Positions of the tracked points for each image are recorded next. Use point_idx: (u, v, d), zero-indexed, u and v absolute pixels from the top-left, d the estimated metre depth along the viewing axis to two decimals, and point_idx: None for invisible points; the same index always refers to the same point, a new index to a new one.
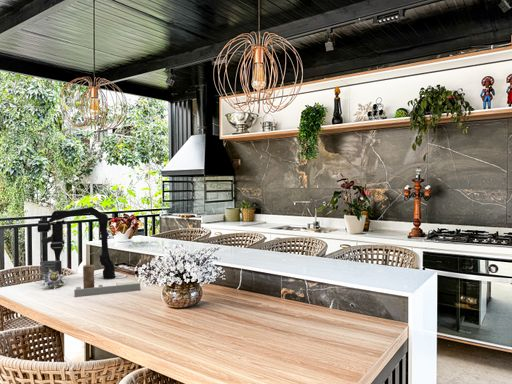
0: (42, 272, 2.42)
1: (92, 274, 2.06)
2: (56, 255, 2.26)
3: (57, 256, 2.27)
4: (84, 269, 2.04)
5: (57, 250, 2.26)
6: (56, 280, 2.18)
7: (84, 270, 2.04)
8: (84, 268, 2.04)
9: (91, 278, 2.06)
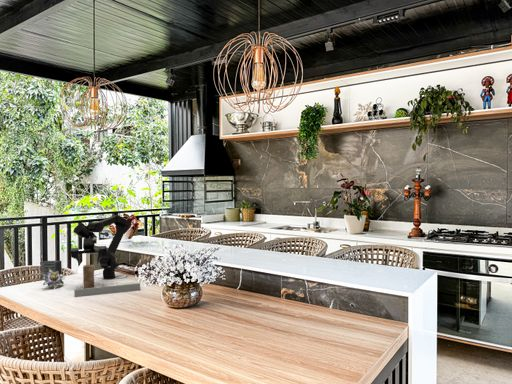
0: (42, 272, 2.42)
1: (92, 274, 2.06)
2: (99, 259, 2.19)
3: (98, 261, 2.19)
4: (83, 269, 2.04)
5: None
6: (56, 280, 2.18)
7: (84, 270, 2.04)
8: (84, 268, 2.04)
9: (91, 278, 2.06)
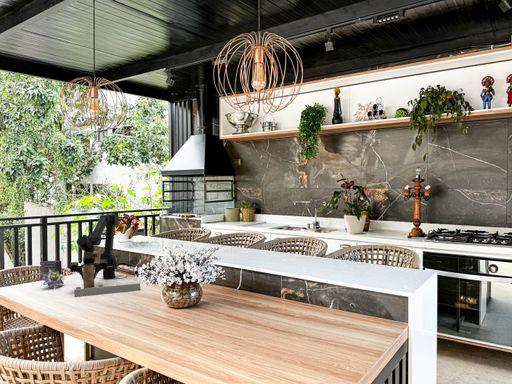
0: (42, 272, 2.42)
1: (92, 274, 2.06)
2: (96, 274, 2.09)
3: (95, 276, 2.09)
4: (83, 269, 2.04)
5: (96, 270, 2.12)
6: (56, 280, 2.18)
7: (84, 270, 2.04)
8: (84, 268, 2.04)
9: (91, 278, 2.06)
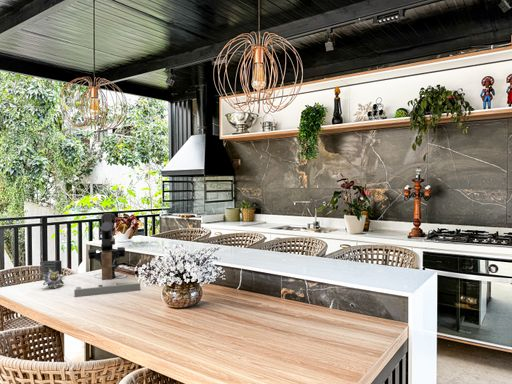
0: (42, 272, 2.42)
1: (110, 261, 2.09)
2: (113, 261, 2.12)
3: (113, 262, 2.12)
4: (102, 256, 2.08)
5: (114, 257, 2.15)
6: (56, 280, 2.18)
7: (102, 257, 2.08)
8: (102, 255, 2.08)
9: (109, 265, 2.09)
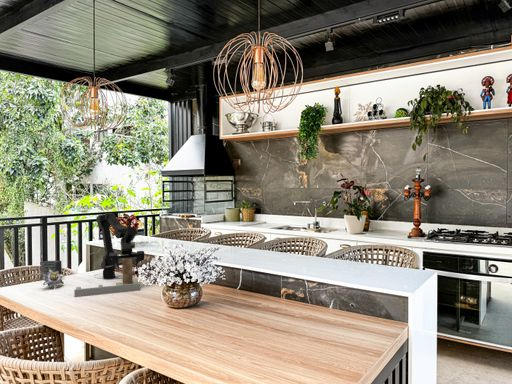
0: (42, 272, 2.42)
1: (131, 267, 2.13)
2: (137, 264, 2.17)
3: (137, 266, 2.17)
4: (123, 262, 2.11)
5: None
6: (56, 280, 2.18)
7: (123, 263, 2.11)
8: (123, 261, 2.11)
9: (130, 271, 2.12)
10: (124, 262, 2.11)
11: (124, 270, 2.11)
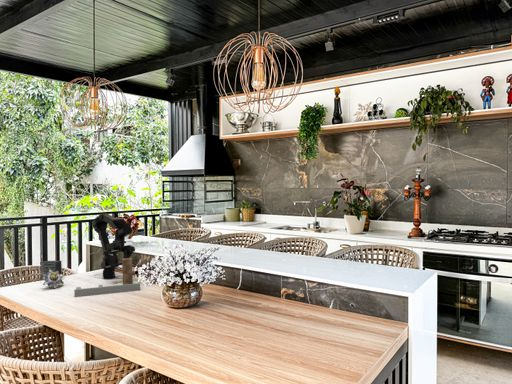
0: (42, 272, 2.42)
1: (131, 267, 2.13)
2: None
3: None
4: (123, 262, 2.11)
5: (127, 255, 2.24)
6: (56, 280, 2.18)
7: (123, 263, 2.11)
8: (123, 261, 2.11)
9: (130, 271, 2.12)
10: (124, 262, 2.11)
11: (124, 270, 2.11)
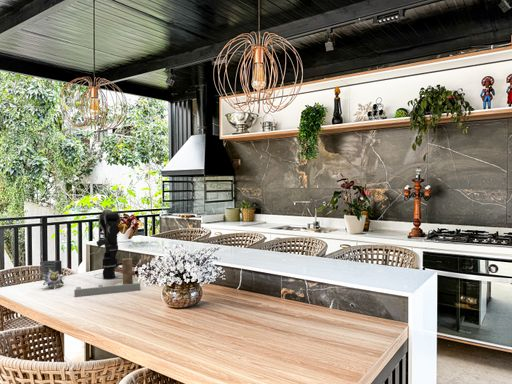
0: (42, 272, 2.42)
1: (131, 267, 2.13)
2: (112, 257, 2.23)
3: (113, 258, 2.24)
4: (123, 262, 2.11)
5: (113, 252, 2.23)
6: (56, 280, 2.18)
7: (123, 263, 2.11)
8: (123, 261, 2.11)
9: (130, 271, 2.12)
10: (124, 262, 2.11)
11: (124, 270, 2.11)
